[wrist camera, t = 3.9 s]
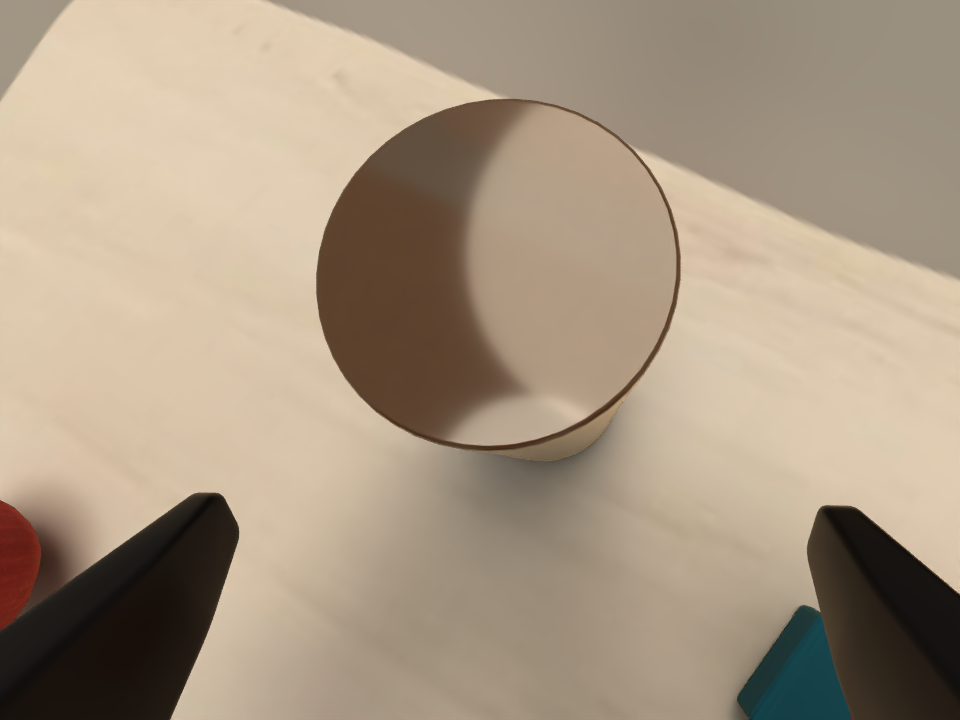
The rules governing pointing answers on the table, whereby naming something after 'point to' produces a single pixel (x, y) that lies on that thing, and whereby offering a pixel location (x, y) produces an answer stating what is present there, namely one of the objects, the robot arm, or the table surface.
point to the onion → (16, 562)
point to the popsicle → (797, 676)
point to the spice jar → (499, 278)
